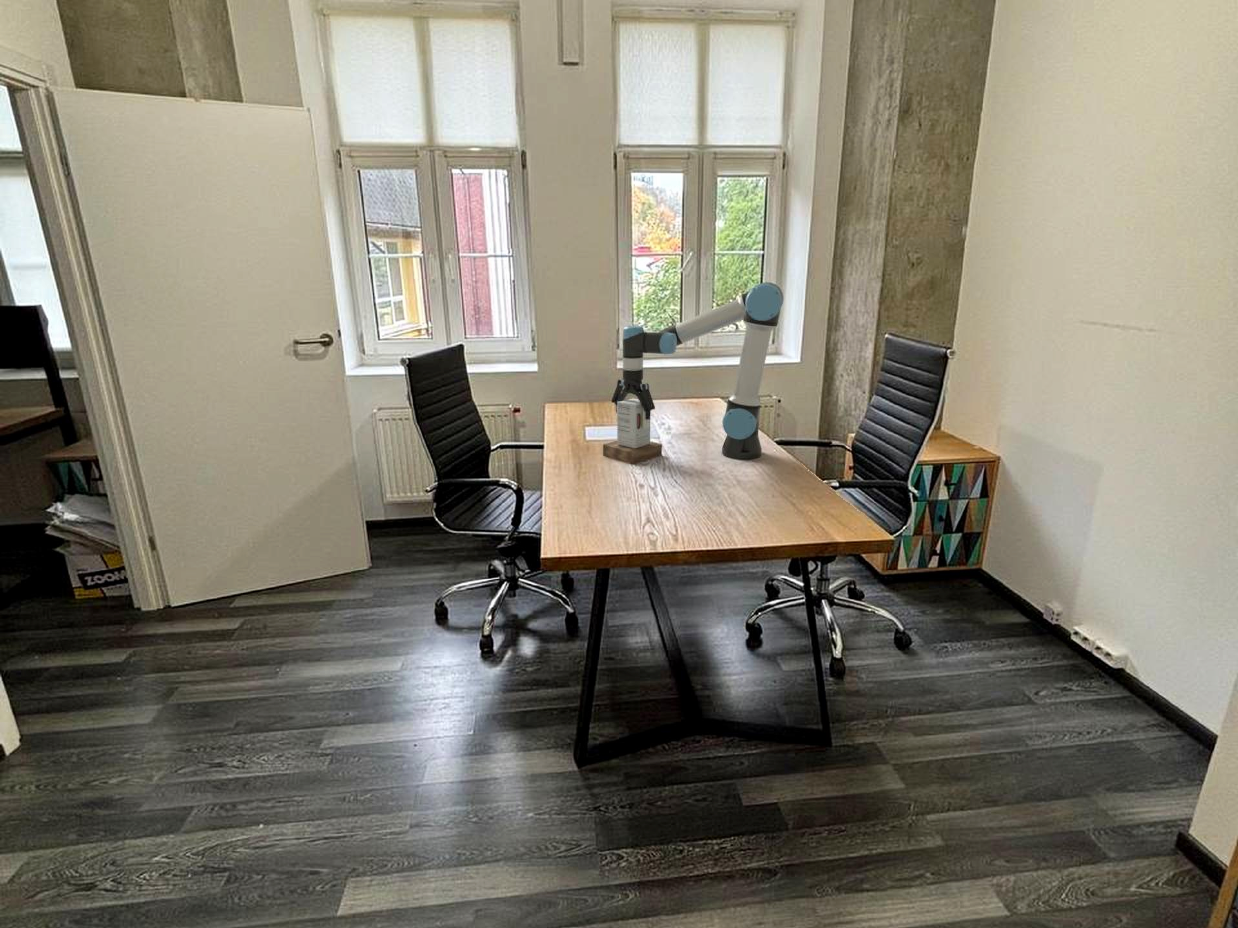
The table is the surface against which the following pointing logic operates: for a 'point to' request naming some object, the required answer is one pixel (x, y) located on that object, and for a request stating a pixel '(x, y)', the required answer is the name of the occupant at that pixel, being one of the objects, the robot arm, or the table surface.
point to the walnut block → (632, 452)
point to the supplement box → (631, 424)
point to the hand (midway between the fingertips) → (632, 424)
